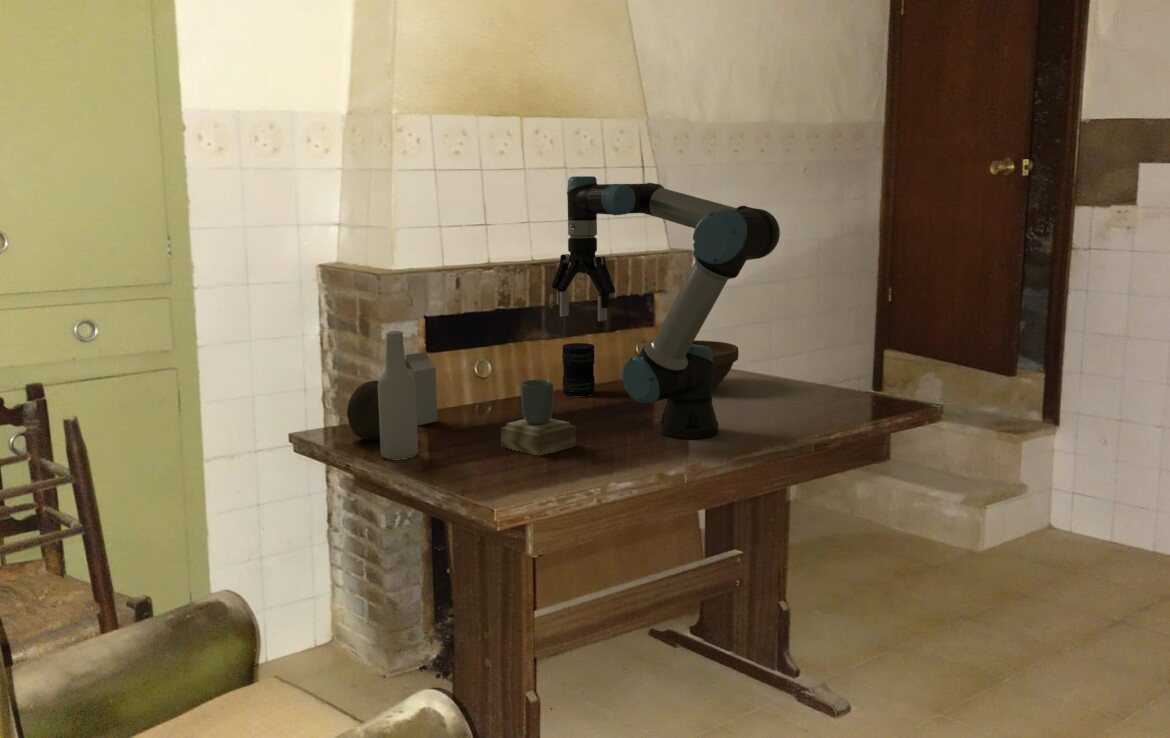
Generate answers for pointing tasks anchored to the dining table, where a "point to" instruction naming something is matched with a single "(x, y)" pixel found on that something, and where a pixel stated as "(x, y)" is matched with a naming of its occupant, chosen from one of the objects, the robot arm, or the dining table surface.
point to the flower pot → (720, 358)
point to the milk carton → (423, 386)
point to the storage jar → (578, 369)
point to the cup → (537, 401)
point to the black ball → (365, 411)
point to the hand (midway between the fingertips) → (583, 318)
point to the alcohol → (397, 403)
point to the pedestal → (538, 436)
